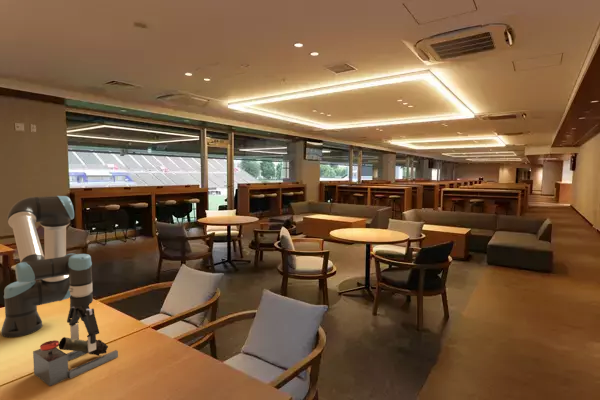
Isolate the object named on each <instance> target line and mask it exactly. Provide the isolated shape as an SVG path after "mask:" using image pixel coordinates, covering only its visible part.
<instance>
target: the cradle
mask: <svg viewBox="0 0 600 400" xmlns="http://www.w3.org/2000/svg"><path fill="white" fill-rule="evenodd" d="M59 343H60V341H59V340H49V341H46V342H43V343H41V344H40V346H39V349H36V350H33V351H32V354H33V355H32V356H33V357H32V358H33V374H34V376H35V377H37V378H38V379H39V380H41V381H43V382H44V383H45V384H46V385H47V386H48V387H52V386H54V385H57V384H59V383H61V382H62V381H65V380H68V379H73V378H75V377H77V376H79V375H81V374H83V373H86V372H88V371H90V370H92V369H94V368H97V367H99V366H101V365H103V364H107V362H110V361H112V360H115V359H117V358H119V351H118V350H117V349H115V350H112V351H110V352H108V353H105V354H103V355H101V356H98V357H97V358H94V359H91V360H89V361H88V362H87V361H86V363H83V364H81V365H78V366H76V367H74V368H71V369H69V362H70V361H71V360H73V359H77V358H79V357H81V356H84V355H86V354H87V353H84V352H82V351H70V352H67V353H65V352H64V350H63V351H62V350H60V349H59Z"/></svg>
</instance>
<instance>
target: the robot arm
mask: <svg viewBox="0 0 600 400" xmlns="http://www.w3.org/2000/svg"><path fill="white" fill-rule="evenodd" d="M7 213H8V214H7V216H6V217H7V218H6V219H7V223H8V226H9V227H10V228H11V229H12V232H13V235H14V240H15V244H16V248H17V252H18V258H19V261H20V262H19V263H16V264H15V268H14V269H15V270H14V271H15V278H16V281H14V282H11V283H9V284H8V285H6V286H5V287H4V290H3V293H4V295H3V299H4V314H5V319H4V322H3V324H2V327H1V330H0V331H1V336H2V337H4V338H16V337H22V336H26V335H30V334H33V333H35V332H37V331H39V330H41V328H42V327H43V320H42V318H41V316H40V314H39V312H38V309H37V308H38V306H42V305H46V304H51V303H55V302H62V301H64V300H67V299H69V302H70V303H69V311H68V314H67V319H66V322H67V323H68V324H69V327H70V338H72V339H78V340H80V330H79V320H80V321H82V322H83V324H84V327H85V329H86V331H87V333H88V334H87V336H86V337H87V340H88V352H91V351H94V350H96V340H97V335H98V334H100V330H99V326H98V323H97V319H96V318H97V317H96V314H95V309H94V308H90V305H91V304H92V303H93V302H94V299H93V297H94V296H93V295H94V294H93V290H94V289H93V273H92V270H93V269H92V266H93V262H92V256H91V255H90V254H87V253H77V254H76V253H67V227H68V226H69V225H70V224H71V220H73V219H75V210H74V205H73V202H72V200H71V198H70V197H69V196H67V195H49V196H48V195H46V196H29V197H25V198H22V199H20V200H18V201H16V202H15V203H14V204H13V205H12V206H11V208H10V209H9V211H8V212H7ZM36 223H39V225H40V226H41V227H43V230H44V233H43V234H44V237H43V238H44V240H43V241H44V252H43V248H42V244H41V242H40V237H39V234H38V231H37V228H36Z"/></svg>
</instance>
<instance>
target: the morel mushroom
mask: <svg viewBox="0 0 600 400" xmlns="http://www.w3.org/2000/svg"><path fill="white" fill-rule="evenodd" d="M108 348H109V345H107V343H106V342H103V341H102V340H101V339H96V350H94V351H91V352H88V339H87V340H83V339H79V340H78V339H72V338H71V337H66V336H64V337H62V338H61V339H60V341H59V346H58V349H59V350H61V351H62V350H63V351H70V352H72V351H82V352H84V353H86V354H89V355H95V356H98V357H100V355H101V354H103V355H104V354H108V353H107V350H108Z"/></svg>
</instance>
